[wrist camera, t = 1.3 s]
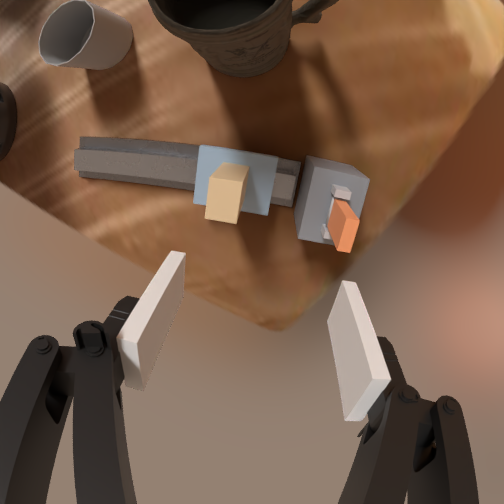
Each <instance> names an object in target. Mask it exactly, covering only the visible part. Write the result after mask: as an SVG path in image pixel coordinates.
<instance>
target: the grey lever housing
mask: <svg viewBox="0 0 504 504" xmlns="http://www.w3.org/2000/svg"><path fill="white" fill-rule="evenodd" d="M369 181H370V179H369V178H367V177H366V176H365V175H364V174H362V173H361V172H360V171H358V170H357V169H356V168H355V167H353V166H352V165H348V164H344V163H340V162H336V161H331V160H327V159H323V158H318V157H313V156H309V155H306V159H305V164H304V169H303V174H302V179H301V183H300V188H299V193H298V197H297V202H296V206H295V211H294V218H295V224H296V230H297V236H298V239H303V240H308V241H313V242H319V243H324V244H329V245H335V244H334V242H333V239H332V237H331V235H330V232H329V230H328V227H327V226H326V220H327V216H328V213H329V209H330V205H331V201H332V197H333V196H334V197H337V198H342V199H345V200H346V202H347V203H348V205H349V206H350V208H351V209H352V210H353V212H354V213H355V215H356V216H357V217H358V219H359V217H360V214H361V210H362V207H363V203H364V200H365V196H366V192H367V189H368V185H369Z"/></svg>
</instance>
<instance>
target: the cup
mask: <svg viewBox="0 0 504 504" xmlns="http://www.w3.org/2000/svg"><path fill="white" fill-rule="evenodd" d="M132 39H133V32H132V27H131V24H130V23H129V22H128V21H127V20H126V19H125V18H123V17H121V16H119V15H117V14H115V13H113V12H111V11H109V10H106V9H104V8H102V7H100V6H97V5H95V4H93V3H91V2H88V1H86V0H71V1H69V2H66V3H64V4H62V5H60V6H59V7H58V8H57V9H56V10H55V11H54V12H53V13H52V14H50V16H49V18H48V19H47V21H46V22H45V24H44V26H43V27H42V30H41V34H40V38H39V42H38V43H39V52H40V56H41V57H42V58H43V60H44V61H45V62H46V63H47V64H51V65H55V66H64V67H75V68H85V69H94V70H103V69H107V68H111V67H113V66H114V65H116V64H117V63H118V62H120V61H121V60H122V59H123V58H124V56H125V55H126V54H127V52H128V51H129V49H130V47H131V43H132Z"/></svg>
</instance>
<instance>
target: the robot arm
mask: <svg viewBox="0 0 504 504" xmlns="http://www.w3.org/2000/svg"><path fill="white" fill-rule="evenodd" d="M16 120H17V114H16V104H15V100H14V97H13V94H12V92H11V90H10V89H9V88H8V86H7V85H5V84H3V83H0V160H2V159H3V158H4V157H5V156H6V154H7V153H8V151H9V149H10V147H11V145H12V142H13V139H14V135H15V130H16ZM185 257H186V253H182V252H176V251H171V252H170V253H169V255H168V256H167V258H166V259H165V261H164V262H163V264H162V265H161V267H160V268H159V270H158V271H157V273H156V275H155V276H154V278H153V279H152V281H151V283H150V284H149V285H148V287H147V289H146V290H145V292H144V293H143V295H142V296H141V298H140V299H139V298H135V297H131V296H126V297H125V298H123V299H121V300H120V301H119V302H118V303H117V304H116V306H115V307H114V309H113V311H112V312H111V313H110V314H109V316H108V317H107V319H106V320H105V322H104V323H100V322H98V321H85V322H83V323H81V324H79V325H78V326H77V327H76V328H75V329H74V331H73V337H74V340H75V344H76V347H69V346H59V344H58V341H57V340H56V339H55V338H54V337H51V336H48V335H42V336H38V337H36V338H35V339H33V340H32V341H31V343H30V344H29V346H28V347H27V349H26V351H25V353H24V355H23V357H22V358H21V360H20V363H19V364H18V366H17V368H16V370H15V372H14V374H13V376H12V378H11V380H10V382H9V384H8V386H7V389H6V390H5V393H4V395H3V397H2V399H1V401H0V504H46V499H47V493H48V489H49V484H50V479H51V475H52V470H53V466H54V462H55V458H56V454H57V450H58V446H59V442H60V439H61V435H62V432H63V429H64V425H65V422H66V418H67V415H68V412H69V409H70V405H71V402H72V399H73V396H74V400H73V456H74V457H73V459H74V477H75V488H76V497H77V504H137V501H136V497H135V492H134V486H133V481H132V475H131V469H130V463H129V457H128V450H127V443H126V434H125V426H124V417H123V405H122V394H121V393H122V392H121V389H120V386H121V384H122V381H123V380H125V385H126V386H127V387H130V388H133V389H137V390H140V391H144V389H145V387H146V384H147V382H148V380H149V377H150V374H151V372H152V370H153V367H154V365H155V362H156V360H157V358H158V355H159V353H160V350H161V348H162V346H163V343H164V341H165V339H166V336H167V334H168V332H169V329H170V327H171V325H172V322H173V320H174V318H175V315H176V313H177V311H178V309H179V306H180V304H181V302H182V299H183V295H184V274H185ZM327 323H328V328H329V333H330V338H331V344H332V349H333V354H334V360H335V365H336V370H337V377H338V383H339V388H340V394H341V401H342V407H343V414H344V420H345V421H362V419H363V418H364V417H365V416H366V414H368V418H369V422H368V423H367V424H366V425H365V427H364V428H363V429H362V430H361V431H360V433H359V435H358V436H357V437H360V436H361V435H362V434H363V435H362V438H361V441H360V444H359V448H358V450H357V453H356V457H355V459H354V462H353V465H352V468H351V471H350V473H349V476H348V479H347V482H346V484H345V487H344V489H343V492H342V494H341V497H340V499H339V502H338V504H404V501H405V497H406V492H407V491H408V504H479V499H478V490H477V483H476V476H475V469H474V464H473V458H472V452H471V448H470V443H469V438H468V433H467V429H466V425H465V420H464V416H463V412H462V409H461V406H460V404H459V403H458V402H457V400H456V399H454V398H453V397H450V396H441V397H440V398H439V399H438V400H437V401H436V402H432V401H429V400H424V399H422V398H420V395H419V393H418V391H417V390H416V389H414V388H413V387H412V386H409V385H407V383H406V381H405V378H404V375H403V372H402V369H401V367H400V364H399V362H398V359H397V356H396V355H395V351H394V348H393V346H392V344H391V343H390V342H389V341H388V340H387V338H386V337H378V336H376V334H375V331H374V328H373V326H372V323H371V320H370V318H369V315H368V312H367V310H366V307H365V305H364V302H363V300H362V297H361V294H360V292H359V289H358V287H357V284H356V283H355V282H350V281H344V280H342V282H341V285H340V288H339V291H338V294H337V297H336V299H335V302H334V305H333V307H332V310H331V313H330V315H329V318H328V321H327ZM435 443H436V445H435Z"/></svg>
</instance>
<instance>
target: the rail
mask: <svg viewBox="0 0 504 504" xmlns="http://www.w3.org/2000/svg"><path fill="white" fill-rule="evenodd" d="M199 147H200V145H193V144H184V143H175V142H165V141H154V140H141V139H127V138H108V137H80V148H78V149H75V153H74V170H79V177H88V178H98V179H107V180H116V181H125V182H133V183H141V184H149V185H157V186H164V187H172V188H179V189H186V190H193V191H194V190H195V181H196V172H197V163H198V155H199ZM300 166H301V162H299V161H294V160H289V159H284V158H279V157H278V163H277V168H276V174H275V179H274V184H273V190H272V195H271V200H270V203H272V204H277V205H283V206H288V207H292V204H293V199H294V195H295V190H296V185H297V180H298V176H299V171H300Z"/></svg>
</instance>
